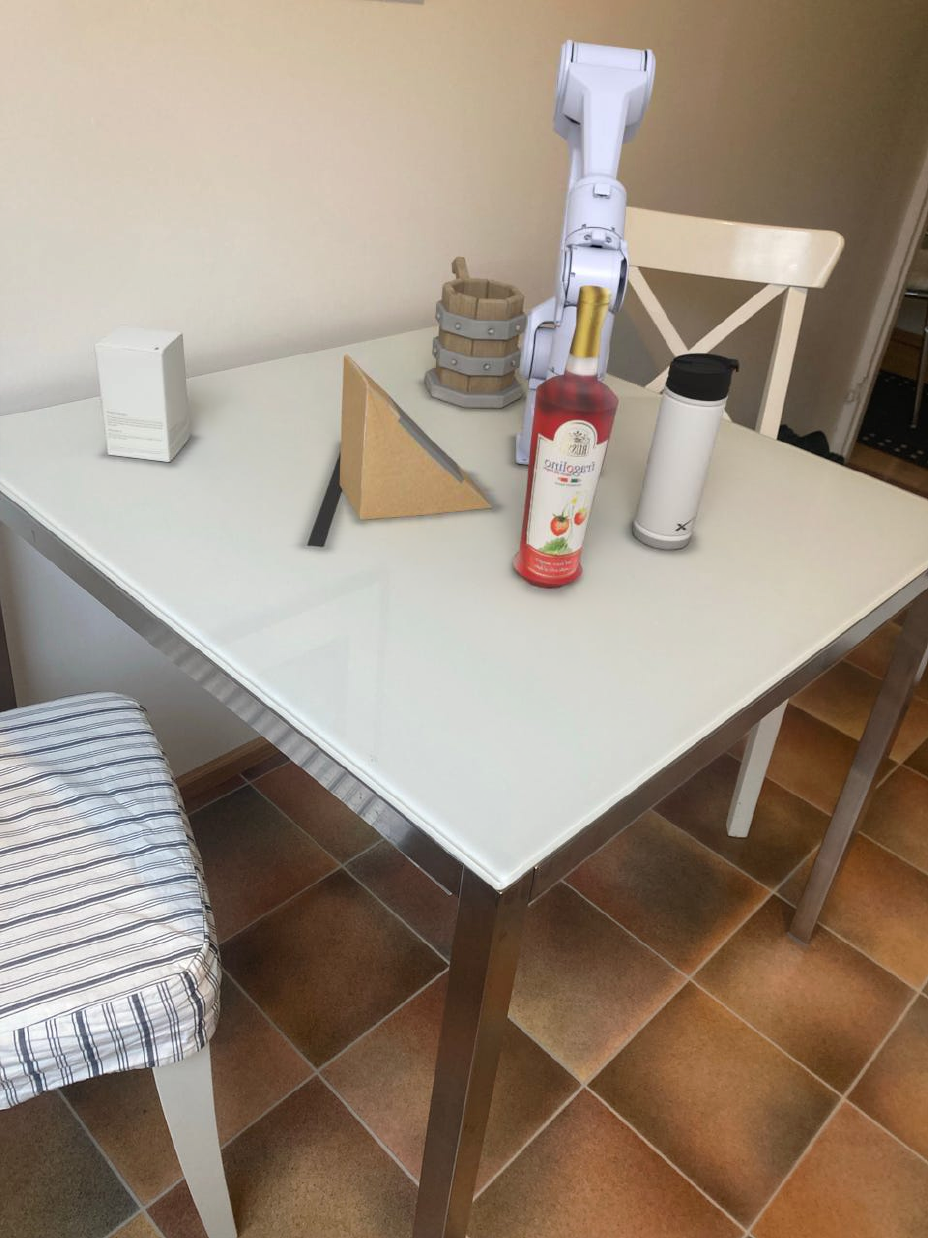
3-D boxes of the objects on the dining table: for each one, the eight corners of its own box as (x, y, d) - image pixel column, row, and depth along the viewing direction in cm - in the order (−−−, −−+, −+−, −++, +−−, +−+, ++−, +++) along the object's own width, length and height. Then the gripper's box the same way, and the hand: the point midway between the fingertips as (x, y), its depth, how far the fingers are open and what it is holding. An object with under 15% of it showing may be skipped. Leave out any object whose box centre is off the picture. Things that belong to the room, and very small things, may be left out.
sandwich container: (495, 509, 108) (513, 378, 100) (360, 521, 103) (367, 384, 94) (467, 473, 115) (481, 348, 106) (338, 483, 109) (343, 352, 101)
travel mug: (692, 556, 104) (741, 373, 93) (630, 544, 105) (671, 361, 93) (692, 529, 109) (739, 352, 98) (633, 517, 110) (673, 341, 99)
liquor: (578, 560, 101) (633, 282, 85) (585, 599, 95) (645, 307, 79) (507, 554, 100) (548, 273, 85) (510, 593, 94) (555, 298, 79)
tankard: (528, 409, 133) (544, 297, 125) (437, 408, 130) (447, 293, 122) (492, 356, 149) (504, 254, 141) (410, 355, 146) (417, 250, 138)
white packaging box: (192, 437, 115) (185, 331, 108) (169, 464, 109) (161, 353, 102) (130, 429, 116) (120, 322, 108) (104, 455, 109) (91, 343, 102)
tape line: (355, 447, 118) (355, 446, 118) (323, 547, 98) (323, 546, 98) (342, 445, 118) (342, 445, 118) (307, 545, 98) (307, 544, 98)
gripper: (535, 342, 106) (518, 458, 114) (538, 391, 94) (519, 517, 101) (600, 349, 106) (579, 464, 114) (611, 399, 94) (587, 524, 102)
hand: (555, 490), depth 108 cm, fingers open, 7 cm apart
